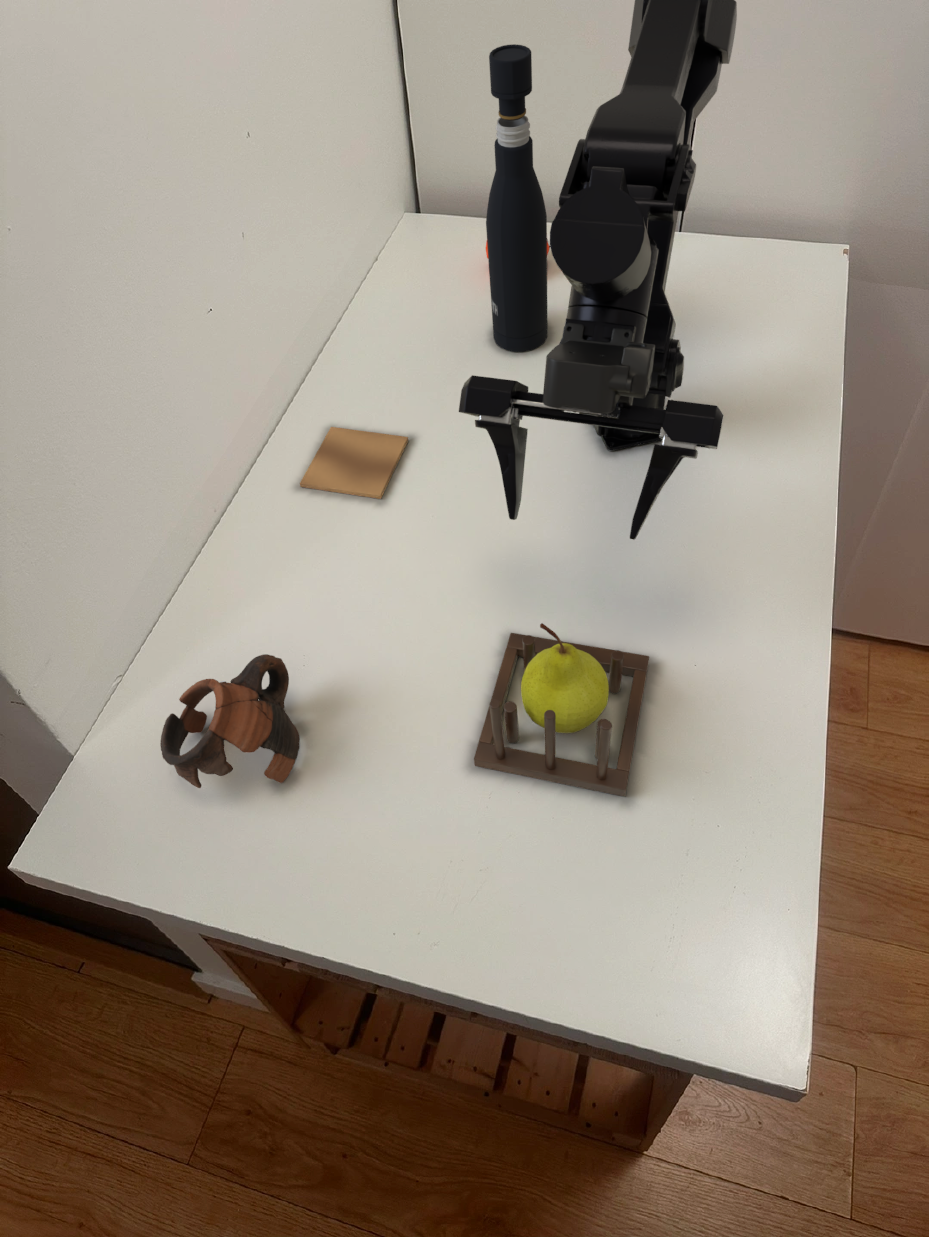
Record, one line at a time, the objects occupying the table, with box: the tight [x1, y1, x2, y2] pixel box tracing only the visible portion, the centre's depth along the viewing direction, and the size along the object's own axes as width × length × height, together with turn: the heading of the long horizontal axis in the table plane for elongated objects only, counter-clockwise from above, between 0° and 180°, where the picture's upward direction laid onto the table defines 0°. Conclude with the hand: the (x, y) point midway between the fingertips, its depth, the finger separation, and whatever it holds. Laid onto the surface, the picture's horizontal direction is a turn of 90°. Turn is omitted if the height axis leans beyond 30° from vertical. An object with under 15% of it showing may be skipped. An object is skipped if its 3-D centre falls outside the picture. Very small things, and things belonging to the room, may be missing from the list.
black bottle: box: [485, 44, 549, 353], centre depth 90 cm, size 6×6×30 cm
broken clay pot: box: [160, 653, 301, 789], centre depth 70 cm, size 12×10×8 cm
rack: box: [473, 632, 650, 798], centre depth 68 cm, size 13×12×9 cm
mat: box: [299, 426, 410, 500], centre depth 91 cm, size 9×9×1 cm
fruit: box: [520, 622, 610, 734], centre depth 66 cm, size 7×7×12 cm
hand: (571, 529), depth 65 cm, fingers open, 9 cm apart
